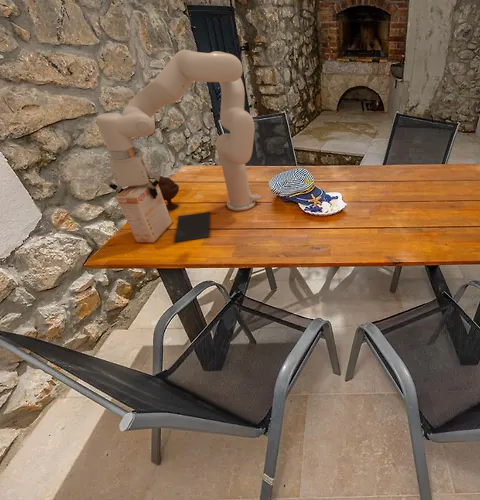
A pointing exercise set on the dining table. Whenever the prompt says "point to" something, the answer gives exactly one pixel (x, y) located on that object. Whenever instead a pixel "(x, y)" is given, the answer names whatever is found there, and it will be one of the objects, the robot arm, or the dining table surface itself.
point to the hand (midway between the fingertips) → (140, 198)
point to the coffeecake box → (144, 212)
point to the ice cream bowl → (168, 191)
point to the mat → (192, 227)
